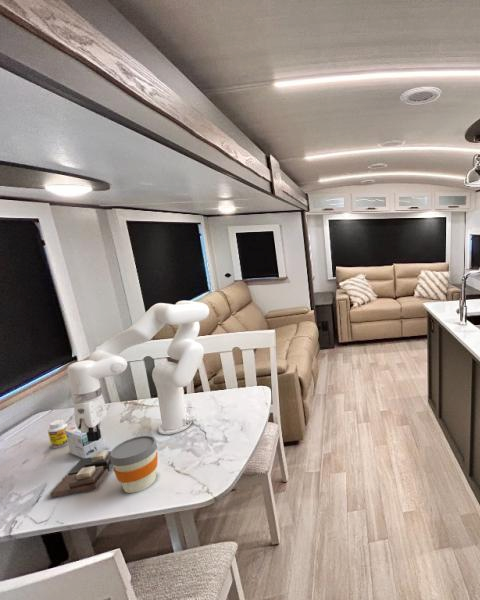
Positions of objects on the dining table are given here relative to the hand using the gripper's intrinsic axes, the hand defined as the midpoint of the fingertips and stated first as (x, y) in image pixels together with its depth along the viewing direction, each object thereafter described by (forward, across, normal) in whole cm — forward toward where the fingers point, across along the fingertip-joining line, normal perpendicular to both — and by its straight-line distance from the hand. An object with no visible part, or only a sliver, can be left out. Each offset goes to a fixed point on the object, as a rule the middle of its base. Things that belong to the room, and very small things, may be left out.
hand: (94, 439), depth 117 cm
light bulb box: (+12, +13, +9) cm, 20 cm away
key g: (+9, -8, -1) cm, 12 cm away
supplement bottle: (+12, +22, +22) cm, 33 cm away
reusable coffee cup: (+12, -13, -18) cm, 25 cm away
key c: (+8, +1, -1) cm, 8 cm away
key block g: (+12, -8, +1) cm, 15 cm away
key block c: (+12, +1, +1) cm, 12 cm away
